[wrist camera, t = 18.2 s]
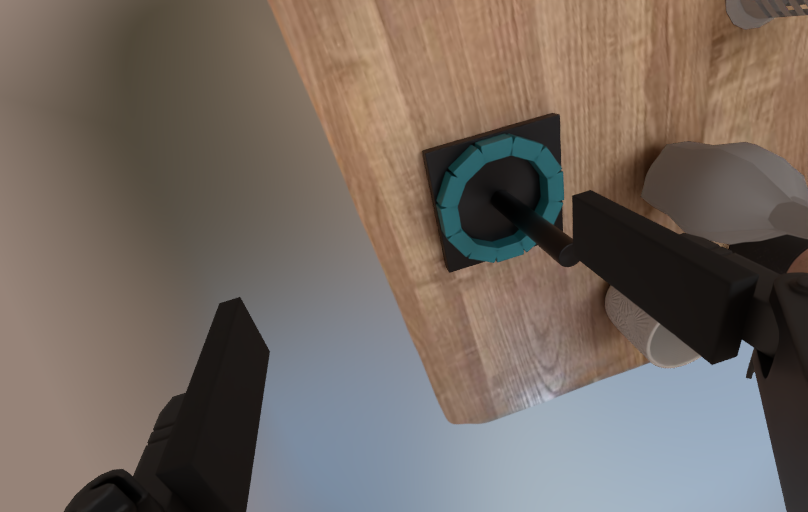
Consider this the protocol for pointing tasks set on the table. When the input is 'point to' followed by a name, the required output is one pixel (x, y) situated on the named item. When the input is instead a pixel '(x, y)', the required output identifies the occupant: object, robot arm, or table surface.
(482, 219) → the post
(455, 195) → the ring
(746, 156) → the bottle
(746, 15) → the french press
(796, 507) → the robot arm
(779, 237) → the travel mug
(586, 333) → the table surface
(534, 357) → the table surface
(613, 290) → the planter
